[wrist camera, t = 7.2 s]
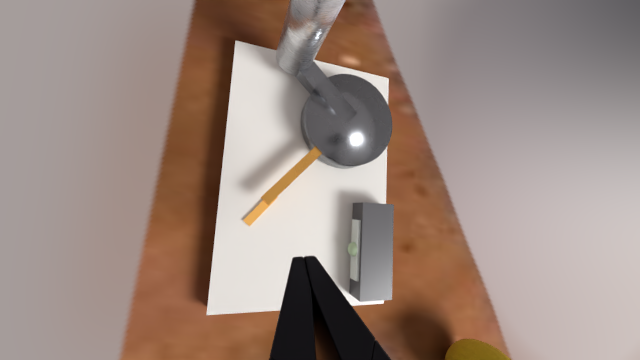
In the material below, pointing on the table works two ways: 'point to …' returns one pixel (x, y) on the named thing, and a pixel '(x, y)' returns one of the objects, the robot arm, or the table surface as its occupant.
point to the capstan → (329, 97)
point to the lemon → (474, 351)
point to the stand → (292, 198)
